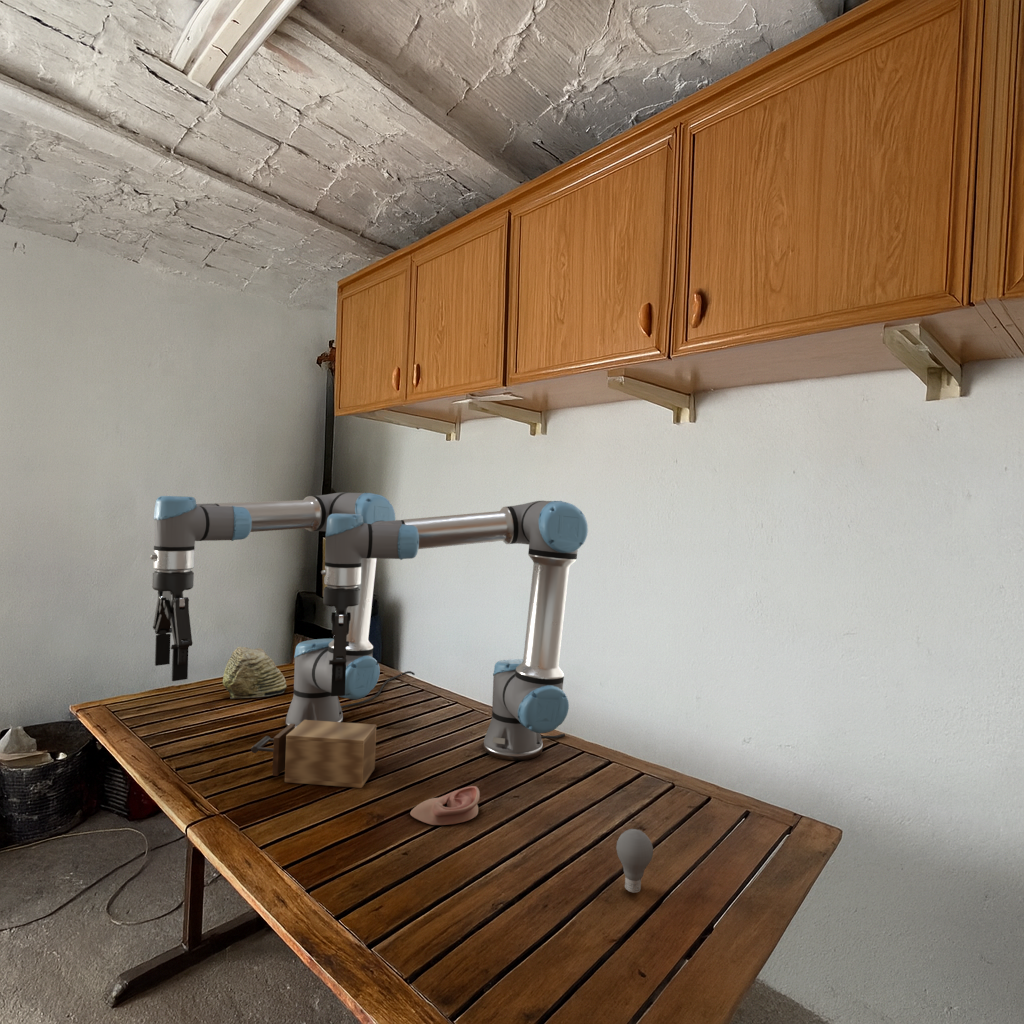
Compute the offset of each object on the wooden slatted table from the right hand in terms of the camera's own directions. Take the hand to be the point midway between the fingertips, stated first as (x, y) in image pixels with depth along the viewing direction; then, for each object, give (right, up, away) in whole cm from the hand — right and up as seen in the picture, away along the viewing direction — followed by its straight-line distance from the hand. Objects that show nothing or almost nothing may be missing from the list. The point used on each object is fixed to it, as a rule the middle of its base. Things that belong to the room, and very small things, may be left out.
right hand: (338, 685), depth 135 cm
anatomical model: (+23, -25, -6) cm, 34 cm away
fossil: (-44, -20, +63) cm, 79 cm away
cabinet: (-4, -23, +9) cm, 25 cm away
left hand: (-34, +4, -3) cm, 34 cm away
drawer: (-11, -22, +10) cm, 26 cm away
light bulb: (+57, -26, -29) cm, 69 cm away
